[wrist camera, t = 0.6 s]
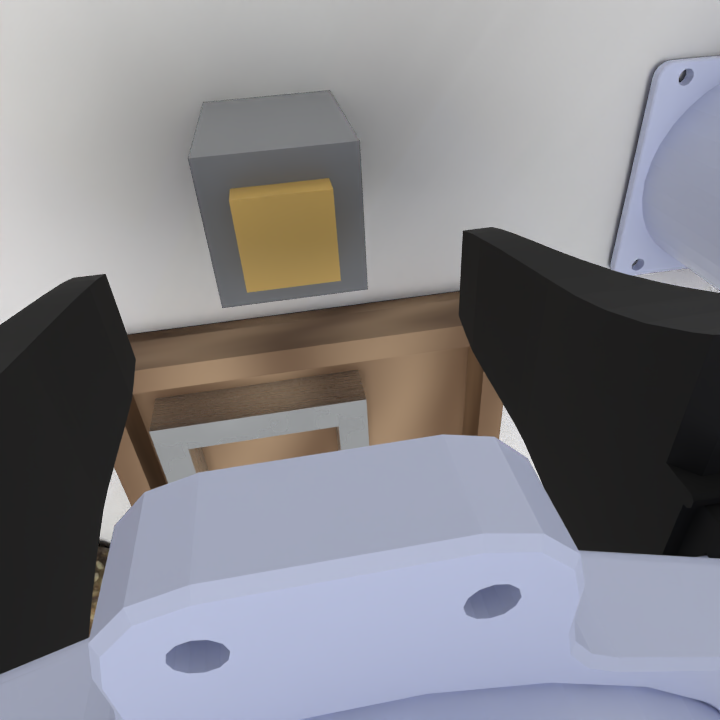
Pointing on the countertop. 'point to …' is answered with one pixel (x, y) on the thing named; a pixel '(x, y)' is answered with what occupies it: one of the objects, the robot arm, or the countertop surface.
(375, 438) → the tray
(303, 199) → the block
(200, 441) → the socket
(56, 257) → the countertop surface
